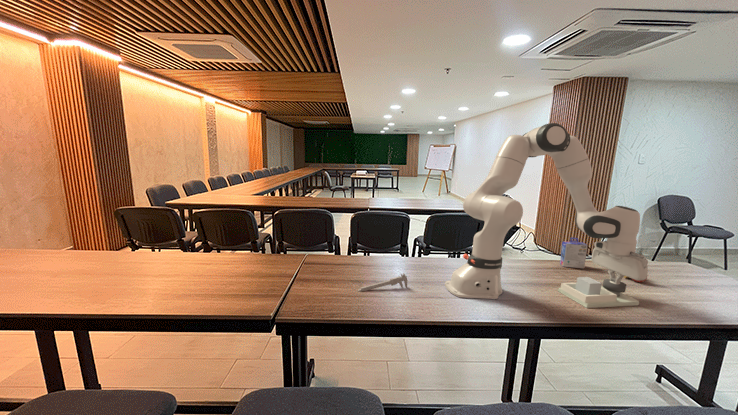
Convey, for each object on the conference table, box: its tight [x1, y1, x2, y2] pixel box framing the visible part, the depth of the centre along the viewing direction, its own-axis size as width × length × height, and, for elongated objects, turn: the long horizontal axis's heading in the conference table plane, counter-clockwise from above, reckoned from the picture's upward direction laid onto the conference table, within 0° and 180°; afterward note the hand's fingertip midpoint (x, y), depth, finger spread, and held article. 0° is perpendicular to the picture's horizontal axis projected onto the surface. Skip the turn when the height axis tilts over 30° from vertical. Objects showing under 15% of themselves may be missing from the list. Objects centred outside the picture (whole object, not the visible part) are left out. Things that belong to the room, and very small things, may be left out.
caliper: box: [357, 272, 408, 292], centre depth 123 cm, size 20×1×6 cm, turn 104°
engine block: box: [576, 276, 603, 295], centre depth 119 cm, size 5×6×6 cm
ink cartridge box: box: [559, 237, 588, 269], centre depth 155 cm, size 10×6×14 cm, turn 78°
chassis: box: [557, 281, 640, 309], centre depth 120 cm, size 22×14×4 cm, turn 98°
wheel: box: [602, 278, 627, 294], centre depth 121 cm, size 7×7×3 cm
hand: (614, 282), depth 121 cm, fingers closed, pressing on wheel
